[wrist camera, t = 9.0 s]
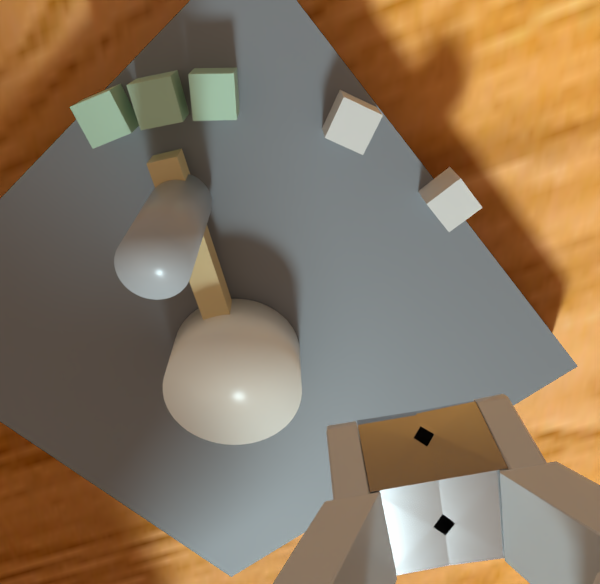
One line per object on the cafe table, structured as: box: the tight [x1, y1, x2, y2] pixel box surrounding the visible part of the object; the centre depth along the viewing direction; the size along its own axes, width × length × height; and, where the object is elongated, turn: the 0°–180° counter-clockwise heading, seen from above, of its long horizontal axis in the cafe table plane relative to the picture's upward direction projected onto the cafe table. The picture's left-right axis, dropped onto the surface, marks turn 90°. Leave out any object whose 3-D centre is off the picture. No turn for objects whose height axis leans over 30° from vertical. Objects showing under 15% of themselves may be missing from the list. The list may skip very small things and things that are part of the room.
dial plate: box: [0, 0, 577, 577], centre depth 28 cm, size 25×24×5 cm
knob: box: [114, 149, 302, 445], centre depth 23 cm, size 13×6×6 cm, turn 13°
